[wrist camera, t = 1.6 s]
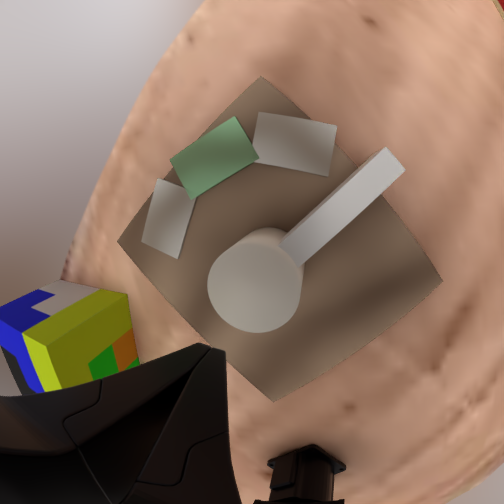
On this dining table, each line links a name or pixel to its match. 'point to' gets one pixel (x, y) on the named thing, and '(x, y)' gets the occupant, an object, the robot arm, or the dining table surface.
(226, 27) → the dining table surface
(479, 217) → the dining table surface
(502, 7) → the milk carton
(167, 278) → the board
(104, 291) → the puzzle toy
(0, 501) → the robot arm
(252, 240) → the lever
